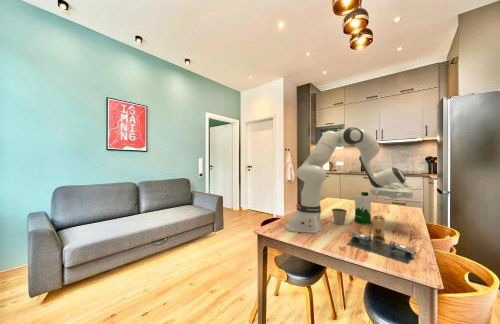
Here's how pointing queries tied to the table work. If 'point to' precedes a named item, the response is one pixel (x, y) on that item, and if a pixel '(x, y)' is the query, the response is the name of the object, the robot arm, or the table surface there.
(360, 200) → the milk carton
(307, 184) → the robot arm
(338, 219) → the flower pot
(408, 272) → the table surface
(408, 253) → the shaft bench
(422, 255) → the table surface
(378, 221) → the amber capped cylinder
